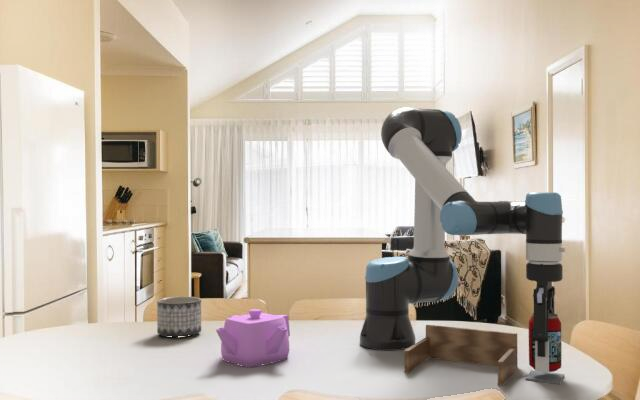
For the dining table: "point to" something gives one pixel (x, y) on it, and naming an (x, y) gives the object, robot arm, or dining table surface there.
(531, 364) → the beverage can
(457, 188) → the robot arm
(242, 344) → the teakettle
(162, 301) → the planter
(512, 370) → the partition
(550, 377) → the mat
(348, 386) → the dining table surface
